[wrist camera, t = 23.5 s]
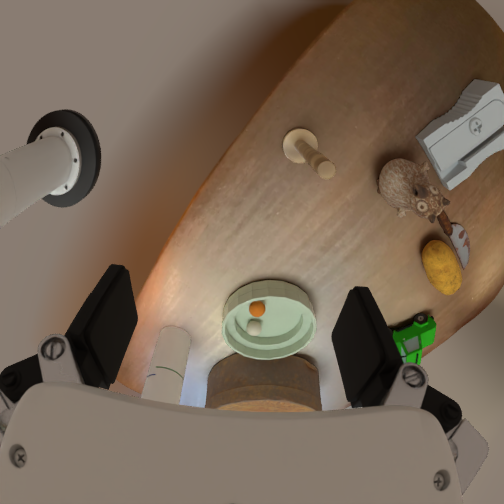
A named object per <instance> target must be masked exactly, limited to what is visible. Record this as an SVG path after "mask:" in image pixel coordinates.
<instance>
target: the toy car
mask: <svg viewBox="0 0 504 504" xmlns="http://www.w3.org/2000/svg"><path fill="white" fill-rule="evenodd" d="M389 330H390V332H391V335H392V337H393V339H394V341H395V343H396V346H397V348H398V350H399V352H400V355H401V357H402V361H403V363H407V362H413V363H416V364H418V365H420V362H421V355H422V348H424V347H426V346H428V345H431V344H433V342H434V338H435V331H436V323H435V321H434V318H433V316H431V317H429V315H428V321H427V316H426V315H425V314H423V313H419V314H417V315H416V316H415V318H414V324H410V325H408V326H406V327H404V328H401V329H399V330H397V331H396V332H395V330H394V333H393V331H392V330H391V329H389Z"/></svg>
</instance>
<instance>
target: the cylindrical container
mask: <svg viewBox="0 0 504 504" xmlns="http://www.w3.org/2000/svg"><path fill="white" fill-rule="evenodd" d="M190 344H191V337H190V335H189V334H188V333H187V332H186V331H185V330H183V329H181V328H178V327H173V326H168V327H165V328H163V329H162V330H161V331H160V334H159V338H158V341H157V344H156V347H155V350H154V354H153V357H152V360H151V364H150V367H149V371H148V374H147V378H146V381H145V385H144V388H143V392H142V396H141V398H144V399H149V400H154V401H159V402H165V403H171V404H178V405H179V402H180V396H181V391H182V385H183V380H184V375H185V369H186V364H187V359H188V354H189V349H190Z"/></svg>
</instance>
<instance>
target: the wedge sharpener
mask: <svg viewBox="0 0 504 504" xmlns="http://www.w3.org/2000/svg"><path fill="white" fill-rule="evenodd" d="M503 125H504V94H503V92H502V90H501V87H500V85H499V83H494V82H488V81H483V80H476V79H474V80H473V81H472V82H471V83H470V84H469V85H468V86H467V87H466V88H465V89H464V90H463V91H462V95H460V99H458V102H457V103H455V106H453V107H452V110H449V112H448V113H445V115H442V116H441V117H440V118H439V117H438V118H437V119H436V120H435V119H434V120H433V121H432V122H431V123H430V124H429V125H428V126H426V127H425V128H424V129H423V130H422V131H421V132H420V133H419V134H418V135H417V136H416V138H417V140H418V142H419V143H420V145H421V146H422V148H423V150H424V151H425V153H426V155H427V157H428V158H429V160H430V162H431V164H432V165H433V167H434V169H435V171H436V173H437V175H438V177H439V179H440V181H441V182H442V184H443V186H445V187H446V188H447V189H449V190H451V189H453V188H454V187H455V186H457V185H458V184H459V183H461V182H462V181H463V180H465V179H466V178H467V177H469V176H470V175H471V173H472V172H474V170H475V168H477V167H478V165H479V164H481V163H482V161H483V160H485V159H486V157H489V156H490V155H493V153H494V152H497V151H498V150H499V151H501V149H504V127H503Z"/></svg>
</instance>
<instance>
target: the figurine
mask: <svg viewBox="0 0 504 504" xmlns="http://www.w3.org/2000/svg"><path fill="white" fill-rule="evenodd" d="M428 169H429V166H428V163H427V162H426V161H425V162H424V163H422V164H421V165H418V164H416V163H414V162H411V161H408V160H405V159H393V160H391V161H389V162H388V163H387V164H386V165H385V166H384V167H383V169H382V171H381V173H380V177H379V179H377V185H378V186H379V189H378V193H381V194H382V196H383V198H384V200H385V201H386V202H387V203H388V204H389V205H390V206H392V207H394V208H396V209H397V210H398V212H397V216H398V217H402V216H405V215H406V213H405V212H406V211H409V210H412V211H413V212H414V213H415V214H416V215H418V216H419V217H422V218H426V219H429V220H430V222H431V223H433V222H434V221H435V217H436V216H438V215H439V214H440V213H441V212H442V210H443V209H444V207H445V206H446V205H449V204H450V201H449V200H447V199H445V198H444V197H443V195H442V194H441V191H440V190H439V189H438V188H437V187H436V186H434V185H432V184H430V182H429V178H428V175H427V170H428Z"/></svg>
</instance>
